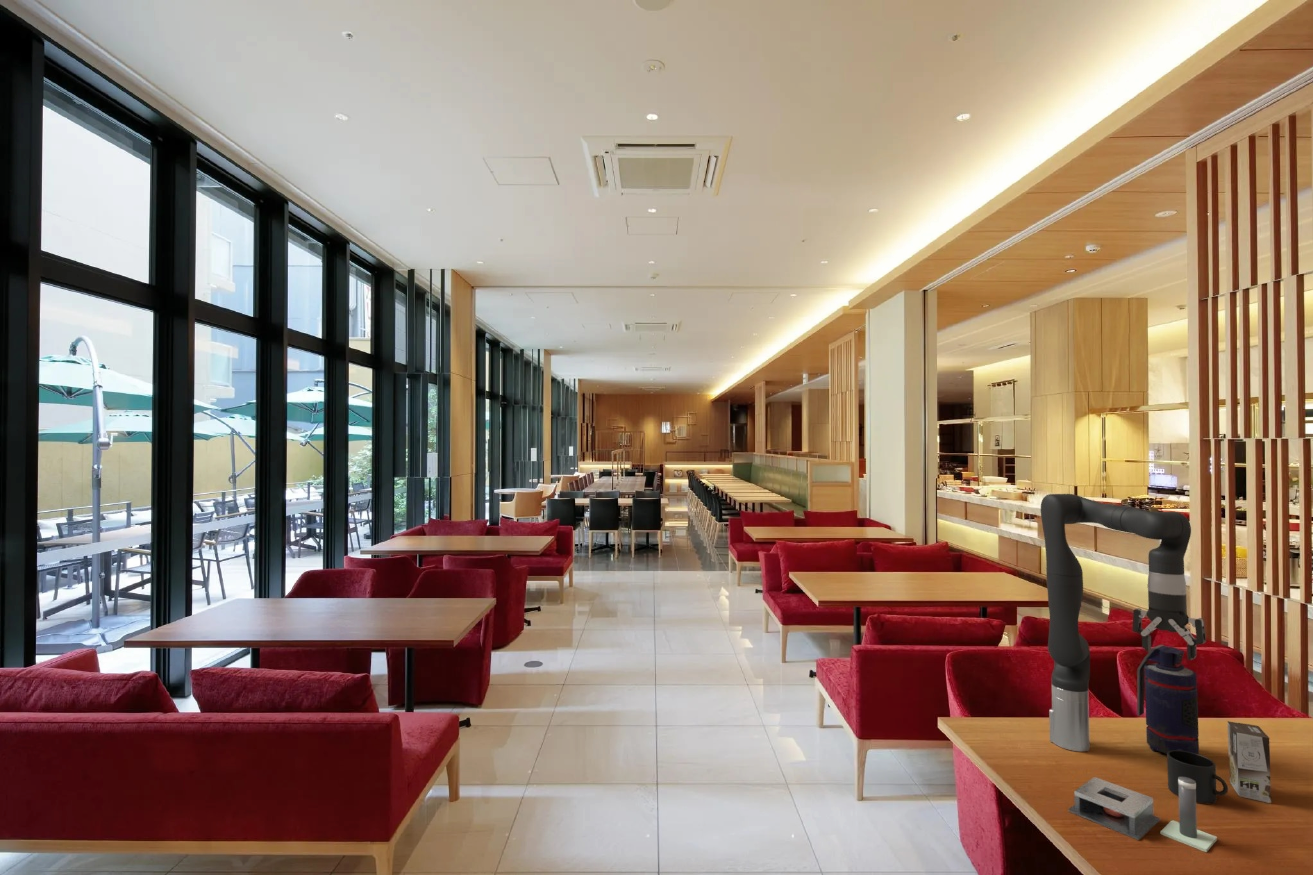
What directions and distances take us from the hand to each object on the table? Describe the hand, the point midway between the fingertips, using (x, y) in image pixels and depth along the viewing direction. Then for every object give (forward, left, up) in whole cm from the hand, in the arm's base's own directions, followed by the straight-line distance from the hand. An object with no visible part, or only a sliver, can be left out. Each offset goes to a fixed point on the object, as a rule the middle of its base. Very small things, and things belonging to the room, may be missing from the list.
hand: (1168, 655), depth 156 cm
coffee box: (+10, +22, -36) cm, 44 cm away
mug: (+3, +8, -36) cm, 37 cm away
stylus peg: (+7, -16, -36) cm, 40 cm away
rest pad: (+7, -16, -36) cm, 40 cm away
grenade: (-10, +34, -36) cm, 51 cm away
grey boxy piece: (-6, -20, -36) cm, 42 cm away
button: (-6, -20, -35) cm, 41 cm away
